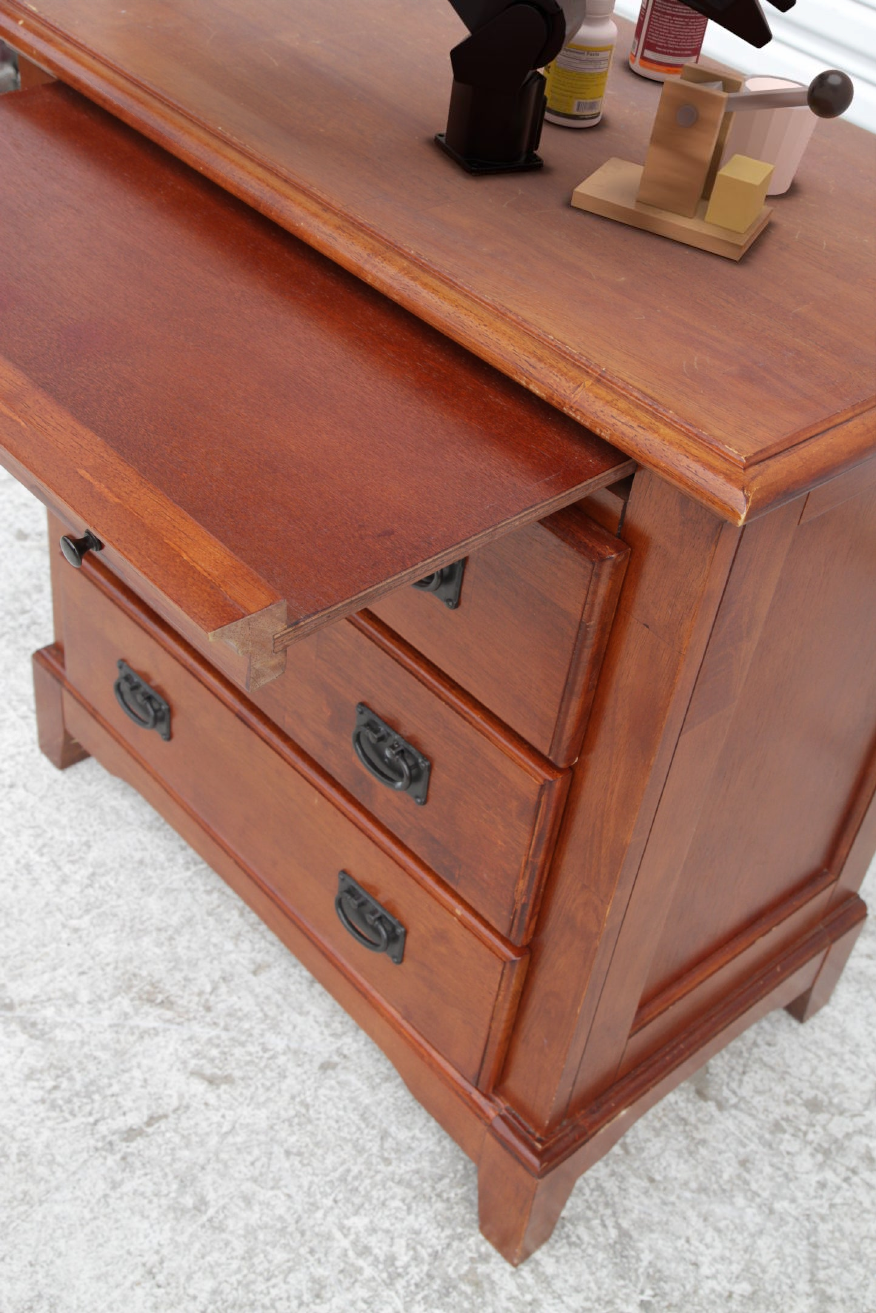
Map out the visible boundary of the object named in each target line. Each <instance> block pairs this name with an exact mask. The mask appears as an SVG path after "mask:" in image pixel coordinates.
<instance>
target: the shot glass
mask: <svg viewBox="0 0 876 1313" xmlns="http://www.w3.org/2000/svg"><path fill="white" fill-rule="evenodd" d="M741 77H743V78H746V81H745V84H744V88H743V91H742V92H749V91H761V90H773V89H784V88H796V87H808V86H809V85H807V84H806V83H803V82H802V81H801V82H800V81H797V80H794V79H790V78H788V77H782V76H777V75H772V74H755V73H753V74H747V75H744V76H741ZM819 118H820V117H818V116H817V115H815V114H814V113H813V112H812V111H811V110H810V108H809V106H798V107H785V108H772V109H760V110H747V111H737V112H736V116H735V120H734V123H733V127H732V130H731V134H730V137H729V141H728V144H727V148H726V151H725V155H724V159H723V162H722V166H721V169H722V168H723V167H724V166H725V165H726V163H727V162H728V161H729V160H730V159H731V158H732V157H733V156H734V155H735V154H738V155H742V156H745V157H748V158H751V159H754V160H758V161H761V162H764V163H767V164H770V165H774V166H775V168H774V171H773V174H772V177H771V181H770V184H769V187H768V190H767V193H766V196H777V195H781V194H786V192H787V191H788V190H789V189H790V186H791V184H792V182H793V179H794V177H795V175H796V172H797V170H798V167H799V165H800V163H801V160H802V158H803V156H804V153H805V151H806V149H807V146H808V144H809V141H810V139H811V137H812V134H813V132H814V130H815V127H816V125H817V124H818V121H819ZM721 169H720V170H721Z"/></svg>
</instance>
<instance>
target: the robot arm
mask: <svg viewBox="0 0 876 1313" xmlns="http://www.w3.org/2000/svg"><path fill="white" fill-rule="evenodd" d="M677 1H678V2H680V3H682V4H684V5H685V6H687V7H689V8H691V9H693V10H694V11H696V12H698V13H700V14H702V15H703V16H705V17H707V18H708V19H709V20H710V21H711V22H713V23H715V24H717V25H719V26H720V27H722V28H723V29H724V30H726V31H728V32H730V33H731V34H733V35H735V36H736V37H738V38H740V40H743V42H745V43H747V44H749V45H751V46H752V47H754V48H756V49H762V48H764V47H765V46H767V45H768V44H769V43H770V42H772V40H773V38H774V37H773V36H774V35H773V33H772V30H771V27H770V25H769V22H768V20H767V17H766V15H765V12H764V9H763V7H762V5H761V3H760V0H677ZM765 1H766V2H767V3H768V4H769V5H772V7H774V8H775V9H776V10H778V11H779V12H780V13H783V14H784V13H787V12H788V11H789V10H791V9H793V8H794V7H795V6H796V4H797V0H765ZM447 2H448V3H449V4H450V6H451V7H452V9H453V10H454V11H455V13H456V14H457V16H458V17H459V19H460V20H461V22H462V23H463V24H464V26H465V28H466V29H467V30H468V32H469V33H468V34H467V35H466V36H465V37H464V38H462V39H461V40H460V41H459V42H458V43H457V44H456V45H455V46H454V47H453V48H451V49H450V52H449V60H450V65H451V70H452V75H453V77H452V83H451V89H450V90H451V91H450V98H449V105H448V113H447V121H446V128H445V132H436V133H435V134H434V137H433V138H434V142H435V143H436V144H437V145H438V146H439V147H440V148H441V149H443V150H444V151H445V153H447V154H448V155H449V156H451V158H452V159H454V160H455V161H456V162H457V163H458V164H459V165H461V167H463V169H465V170H466V171H467V172H468V173H470V174H473V175H479V174H490V173H492V174H493V173H502V172H513V171H514V172H515V171H525V170H526V171H527V170H536V169H537V170H538V169H542V168H544V165H545V164H544V163H545V160H544V159H543V158H542V157H540V156H539V155H538V154H537V153H536V152H537V151H538V150H539V148H540V145H541V139H542V134H543V128H544V122H545V112H546V107H547V101H548V98H547V96H546V95H545V94H544V93H545V87H546V82H547V77H545V76H544V75H543V73H541V72H540V71H538V70H539V69H544V66H546V65H547V64H549V63H550V62H552V61H553V60H554V59H555V58H556V57H557V56H558V55H559V53H560V52H561V51H562V50H563V49H564V48H565V47H566V46H567V44H568V43H569V42H570V41H571V40H572V39H573V38H574V36H575V35H576V34H577V32H578V31H579V30H580V28H581V27H582V24H583V21H584V18H585V15H586V0H447Z"/></svg>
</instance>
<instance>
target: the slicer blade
mask: <svg viewBox="0 0 876 1313" xmlns="http://www.w3.org/2000/svg"><path fill="white" fill-rule="evenodd" d="M695 84H699V85H702V86H705V87H709V88H712V89H715V90H719V91H722V92H723V87H722V81H718V82H707V83H695ZM807 86H808V87H796V88H784V89H773V90H761V91H749V92H737V93H728V94H729V97H728V101H727V104H726V108H725V112H734V111H747V110H760V109H772V108H785V107H798V106H809V108H810V110H811V111H812V112H813V113H814V114H815V115H817V116H818V117H819V118H821V119H826V120H827V119H829V120H830V119H835V118H837V117H840V116H842V115H843V114H844V113H845V112H846V111H848V109H849V108H850V106H851V105H852V102H853V99H854V94H855V89H854V88H855V87H854V83H853V81H852V79H851V77H849V75H848V74H846V72H844V71H842V70H839V69H827V70H824V71H822V72H820V73H818V74H817V75H815V76H814V78H813V79H812V80H811V82H810V84H809V85H807ZM723 117H724V115H723Z"/></svg>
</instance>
